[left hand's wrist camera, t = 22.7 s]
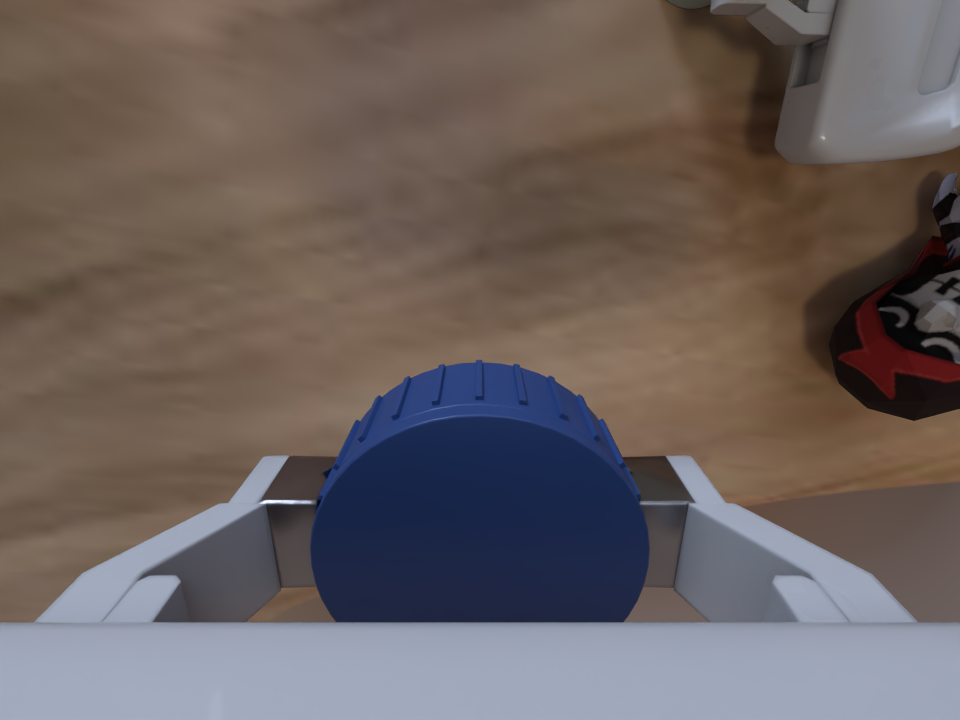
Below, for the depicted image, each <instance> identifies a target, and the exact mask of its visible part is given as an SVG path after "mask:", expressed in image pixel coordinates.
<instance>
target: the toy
mask: <svg viewBox="0 0 960 720" xmlns="http://www.w3.org/2000/svg"><path fill="white" fill-rule="evenodd" d="M957 175H958V173H953V174H948V175H947V176H946V178H945V179H944V180H943V182H942V183H941V186H940V188H939V190H938V193H937V195H936V197H935V199H934V203H933V207H932V210H933V213H934V216H935V218H936V221H937V224H938V226H939V229H940V232H941V236H942V238H941V237H935V236H932V238H931V239H930V240H929V242H928V243H927V244H926V246H925V247H924V248H923V250H922V251H921V252H920V254H919V255H918V257H917V258H916V259H915V261H914V262H913V263H912V265H911V266H910V267H909V269H908V270H907V271H905V272H903V273H902V274H900V275H898V276H897V277H895V278H893V279H892V280H890V281H888V282H887V283H885V284H883V285H881V286H880V287H878V288H876V289H875V290H873V291H871V292H870V293H868V294H866V295H864V296H863V297H861V298H859V299H858V300H856V301H854V302H853V303H852V305H851V306H850V307H849V309H848V310H847V311H846V313H845V314H844V315H843V317H842V318H841V319H840V320H839V322H838V323H837V324H836V326H835V327H834V330H833V334H832V337H831V340H830V343H829V347H830V351H831V355H832V360H833V364H834V369H835V373H836V377H837V379H838V382H839V384H840V385H841V386H843V387H844V388H845V389H846V390H847V391H848V392H849V393H851V394H852V395H853V396H854V397H855V398H856V399H857V400H859V401H860V402H861V403H862V404H863V405H864V406H865V407H867V408H869V409H872V410H876V411H880V412H883V413H887V414H891V415H894V416H898V417H902V418H906V419H909V420H913V421H915V420H919V419H922V418H926V417H930V416H934V415H937V414H941V413H945V412H949V411H953V410H956V409H960V193H959V194H958V196H957V195H956V193H957V190H956V189H955V187H956V178H957Z"/></svg>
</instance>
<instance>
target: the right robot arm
mask: <svg viewBox="0 0 960 720" xmlns="http://www.w3.org/2000/svg"><path fill="white" fill-rule="evenodd" d="M710 13H711V14H714V15H741V16H745V19H746V20H747V21H748V22H749V23H750V24H751V25H753V26H754V27H755V28H756V29H757V30H758V31H759V32H761V33H762V34H763V35H764V36H765V37H766V38H767V39H769V40H770V41H771V42H772V43H773V44H774V45H795V48H794V53H793V58H792V62H791V67H790V72H789V77H788V81H787V86H786V91H785V96H784V100H783V105H782V110H781V115H780V119H779V124H778V129H777V133H776V137H775V148H776V150H777V151H778V152H779V154H780V155H781V156H782V157H783V158H784V159H785V160H786V161H787V162H788V163H790V164H807V165H819V164H851V163H869V162H882V161H891V160H900V159H907V158H914V157H921V156H927V155H932V154H938V153H941V152H945V151H948V150H951V149H954V148H957V147H959V146H960V0H804V1H802V2H800V3H798V4H796V5H794V4H793V3H792V2H790V1H789V0H711V7H710Z"/></svg>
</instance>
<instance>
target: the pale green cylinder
mask: <svg viewBox="0 0 960 720" xmlns="http://www.w3.org/2000/svg"><path fill="white" fill-rule="evenodd" d="M668 1H669V2H670V3H672V4H674V5H675V6H678V7H681V8H685V9H697V8H702V7H705V6H707V5H710V4H711V0H668Z"/></svg>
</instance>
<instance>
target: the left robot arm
mask: <svg viewBox="0 0 960 720" xmlns="http://www.w3.org/2000/svg"><path fill="white" fill-rule="evenodd" d="M622 458H623V460H624V462H625V464H626V466H627V468H628V470H629V472H630V474H631V476H632V478H633V480H634V482H635V484H636V486H637V488H638V490H639V492H640V495H641V499H638V501H639V503H640V505H641V508H642V510H643V512H644V516H645V520H646V523H647V527H648V533H649V544H650V553H649V566H648V571H647V575H646V579H645V583H644V586H643V587H664V588H674V591H676V592H677V593H678V594H679V595H680V596H681V597H682V598H683V599H684V600H685V601H686V602H688V603H689V604H690V605H691V606H692V607H693V608H694V609H695V610H696V611H697V612H699V613H700V614H701V615H702V616H703V617H704V618H705V619H706V620H707V621H708V622H246V621H247V620H248V619H250V618H251V617H252V616H253V615H254V614H255V613H256V612H257V611H258V610H260V609H261V608H262V607H263V606H264V605H265V604H266V603H267V602H268V601H270V600H271V599H272V598H273V597H274V596H275V595H276V594H277V593H278V592H280V591H281V588H290V587H317V586H316V584H315V580H314V576H313V571H312V567H311V555H310V541H311V532H312V526H313V523H314V519H315V515H316V512H317V509H318V507H319V505H320V503H321V500H318V497H319V494H320V492H321V490H322V488H323V486H324V484H325V482H326V480H327V478H328V476H329V474H330V472H331V470H332V468H333V465H334V463H335V461H336V459H337V457H329V456H290V455H285V456H266V457H263V458H262V459H261V460H260V462H259V463H258V464H257V465H256V467H255V468H254V469H253V471H252V472H251V473H250V475H249V476H248V477H247V479H246V480H245V481H244V483H243V484H242V485H241V487H240V488H239V489H238V490H237V492H236V493H235V494H234V496H233V497H232V498H231V500H230V501H229V502H228V503H219V504H218V505H216V506H214V507H212V508H210V509H208V510H206V511H204V512H202V513H200V514H198V515H196V516H194V517H192V518H190V519H188V520H186V521H184V522H182V523H180V524H178V525H176V526H174V527H172V528H170V529H168V530H166V531H164V532H162V533H160V534H158V535H157V536H155V537H153V538H151V539H149V540H147V541H145V542H143V543H141V544H139V545H137V546H135V547H133V548H131V549H129V550H127V551H125V552H123V553H121V554H119V555H117V556H115V557H113V558H111V559H109V560H107V561H105V562H103V563H101V564H99V565H97V566H96V567H94V568H92V569H90V570H88V571H86V572H84V573H82V574H81V575H80V576H79V577H78V578H77V579H76V580H75V581H74V582H73V583H72V584H71V585H70V586H69V587H68V588H67V589H66V590H65V591H64V592H63V593H62V594H61V595H60V596H59V597H58V598H57V599H56V600H55V601H54V602H53V603H52V604H51V606H50V607H49V608H48V609H47V610H46V611H45V612H44V613H43V614H42V615H41V616H40V617H39V618H38V619H37V620H36V621H35V622H0V720H960V622H917V621H916V620H915V618H914V617H913V616H912V615H911V614H910V613H909V612H908V611H907V610H906V609H905V608H904V607H903V606H902V605H901V604H900V603H899V602H898V601H897V600H896V599H895V598H894V597H893V596H892V595H891V594H890V592H889V591H888V590H887V589H886V588H885V587H884V586H883V585H882V584H881V583H880V582H879V581H878V580H877V579H876V578H875V577H874V576H873V575H872V574H871V573H869V572H867V571H865V570H863V569H861V568H859V567H857V566H855V565H853V564H851V563H849V562H847V561H846V560H844V559H842V558H840V557H838V556H836V555H834V554H832V553H830V552H828V551H826V550H824V549H822V548H820V547H818V546H816V545H814V544H812V543H811V542H809V541H807V540H805V539H803V538H801V537H799V536H797V535H795V534H793V533H791V532H789V531H787V530H785V529H783V528H781V527H779V526H778V525H776V524H774V523H772V522H770V521H768V520H766V519H764V518H762V517H760V516H758V515H756V514H754V513H752V512H750V511H748V510H746V509H745V508H743V507H741V506H739V505H737V504H735V503H726V502H725V501H724V499H723V498H722V497H721V495H720V494H719V493H718V491H717V490H716V489H715V487H714V486H713V485H712V483H711V482H710V481H709V479H708V478H707V476H706V475H705V474H704V472H703V471H702V470H701V468H700V467H699V466H698V464H697V463H696V462H695V460H694V459H693V458H692V457H690V456H688V455H680V456H649V457H622Z"/></svg>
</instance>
